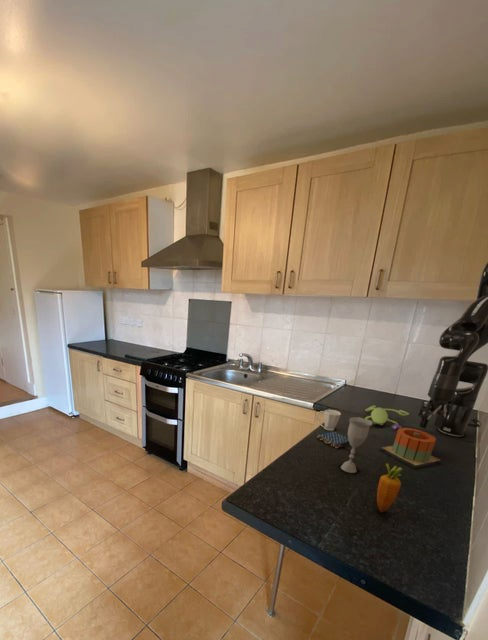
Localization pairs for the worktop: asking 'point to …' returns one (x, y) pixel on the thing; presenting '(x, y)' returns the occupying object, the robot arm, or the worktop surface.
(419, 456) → the green ring
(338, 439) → the woven mat
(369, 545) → the worktop surface
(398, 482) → the carrot
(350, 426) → the chalice
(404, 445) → the orange ring
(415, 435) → the ring stand
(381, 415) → the figurine
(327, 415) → the cup
